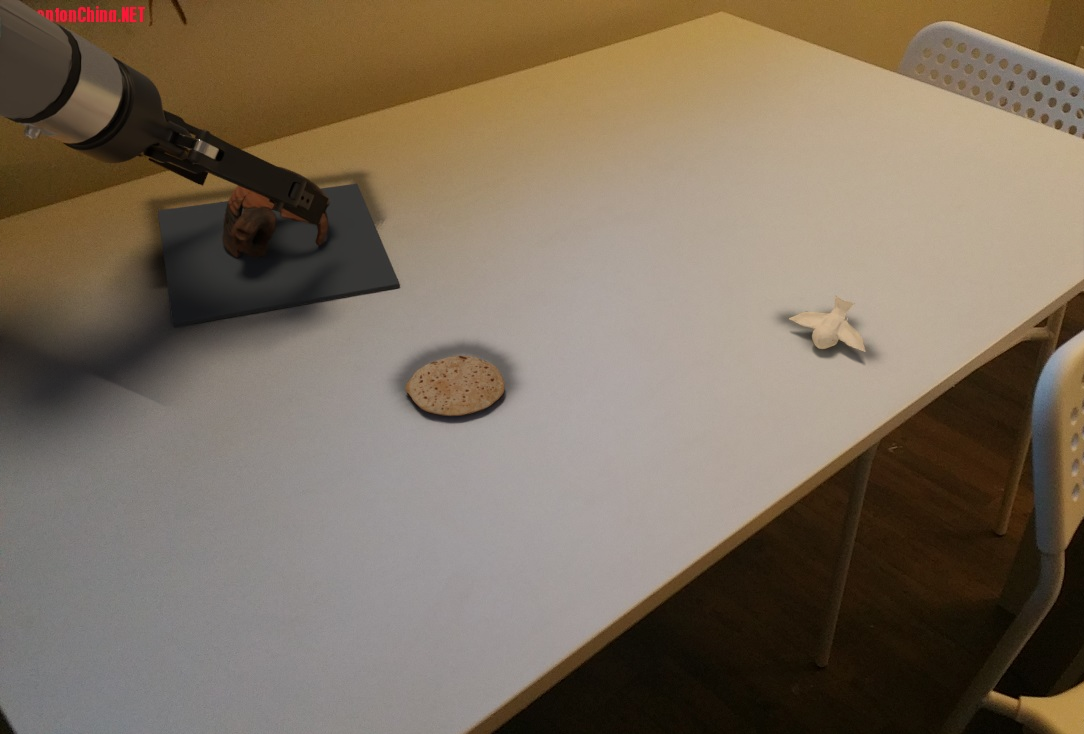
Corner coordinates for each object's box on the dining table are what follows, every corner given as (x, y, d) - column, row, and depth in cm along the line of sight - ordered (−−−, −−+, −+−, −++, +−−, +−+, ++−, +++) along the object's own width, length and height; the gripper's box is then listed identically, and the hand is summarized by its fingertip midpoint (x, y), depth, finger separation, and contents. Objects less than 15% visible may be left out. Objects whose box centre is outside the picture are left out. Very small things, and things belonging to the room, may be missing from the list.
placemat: (158, 214, 101) (157, 210, 100) (357, 187, 108) (357, 183, 108) (173, 327, 87) (172, 323, 87) (400, 287, 94) (399, 283, 94)
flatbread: (492, 355, 87) (492, 346, 87) (513, 410, 82) (513, 401, 81) (399, 370, 85) (398, 361, 84) (414, 428, 80) (413, 419, 79)
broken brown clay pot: (233, 218, 101) (264, 149, 98) (318, 263, 103) (351, 197, 101) (184, 255, 90) (218, 179, 87) (281, 304, 93) (317, 232, 90)
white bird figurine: (776, 335, 92) (792, 288, 90) (794, 327, 96) (810, 282, 94) (854, 369, 89) (872, 321, 87) (869, 359, 93) (887, 314, 91)
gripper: (-55, 103, 76) (145, 191, 97) (197, 191, 69) (355, 266, 90) (-17, 15, 77) (174, 121, 97) (237, 93, 70) (385, 189, 90)
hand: (261, 191), depth 93 cm, fingers open, 13 cm apart
